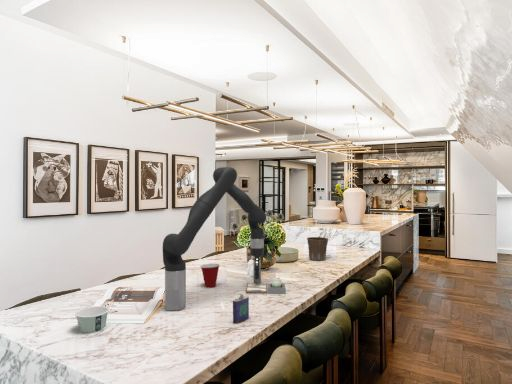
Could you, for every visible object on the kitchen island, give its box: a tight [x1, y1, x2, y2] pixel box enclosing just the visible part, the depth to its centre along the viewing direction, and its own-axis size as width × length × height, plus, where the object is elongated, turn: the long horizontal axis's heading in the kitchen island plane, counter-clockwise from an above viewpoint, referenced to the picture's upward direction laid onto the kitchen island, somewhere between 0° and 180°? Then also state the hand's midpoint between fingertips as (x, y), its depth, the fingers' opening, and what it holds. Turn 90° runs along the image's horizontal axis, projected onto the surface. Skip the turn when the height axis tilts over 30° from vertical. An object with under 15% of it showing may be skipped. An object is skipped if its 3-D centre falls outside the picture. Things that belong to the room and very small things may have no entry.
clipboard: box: [245, 283, 268, 295], centre depth 194 cm, size 16×11×1 cm
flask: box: [232, 293, 250, 325], centre depth 148 cm, size 9×3×11 cm, turn 144°
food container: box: [74, 305, 110, 333], centre depth 140 cm, size 12×12×6 cm
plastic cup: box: [199, 263, 221, 289], centre depth 200 cm, size 11×11×12 cm
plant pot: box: [306, 236, 329, 262], centre depth 275 cm, size 16×16×16 cm
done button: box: [271, 279, 282, 287], centre depth 189 cm, size 5×5×4 cm
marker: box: [252, 261, 262, 284], centre depth 199 cm, size 4×4×11 cm
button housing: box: [267, 282, 287, 295], centre depth 189 cm, size 9×9×3 cm
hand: (257, 277), depth 199 cm, fingers closed on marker, 4 cm apart
